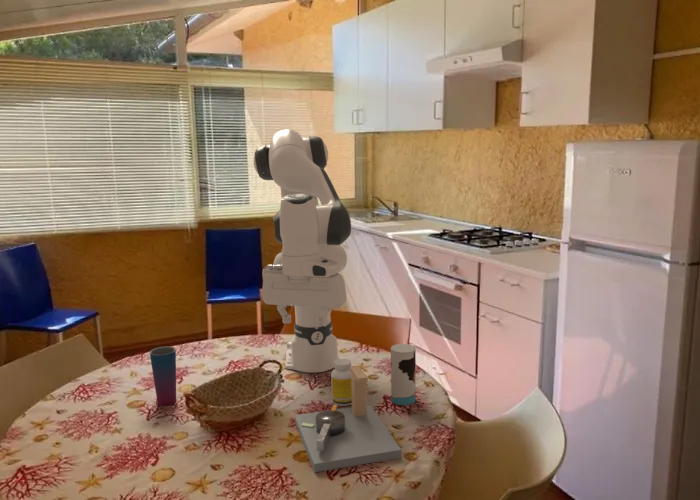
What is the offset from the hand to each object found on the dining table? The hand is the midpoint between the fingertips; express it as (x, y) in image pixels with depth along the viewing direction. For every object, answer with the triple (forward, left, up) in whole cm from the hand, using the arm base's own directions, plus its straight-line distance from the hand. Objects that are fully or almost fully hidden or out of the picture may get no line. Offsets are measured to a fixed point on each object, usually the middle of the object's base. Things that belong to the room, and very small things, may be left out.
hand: (305, 324), depth 135 cm
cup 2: (-14, +29, -29) cm, 43 cm away
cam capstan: (+3, +4, -27) cm, 27 cm away
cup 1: (-33, -34, -29) cm, 55 cm away
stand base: (+2, +8, -29) cm, 30 cm away
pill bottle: (-18, +13, -29) cm, 36 cm away
